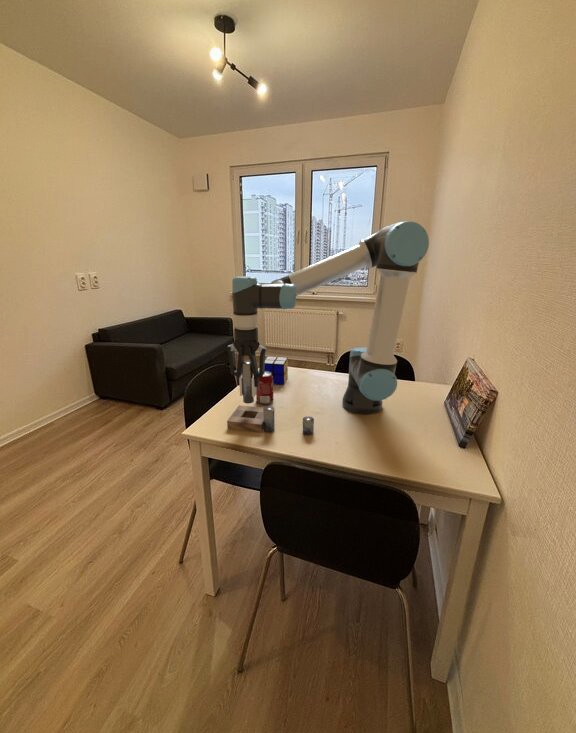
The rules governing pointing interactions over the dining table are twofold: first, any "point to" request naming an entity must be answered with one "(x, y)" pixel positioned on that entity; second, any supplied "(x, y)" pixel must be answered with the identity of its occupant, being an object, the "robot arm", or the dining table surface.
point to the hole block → (247, 419)
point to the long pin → (247, 382)
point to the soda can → (265, 389)
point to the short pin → (308, 425)
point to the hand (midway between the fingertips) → (248, 394)
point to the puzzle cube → (277, 369)
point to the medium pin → (269, 419)
